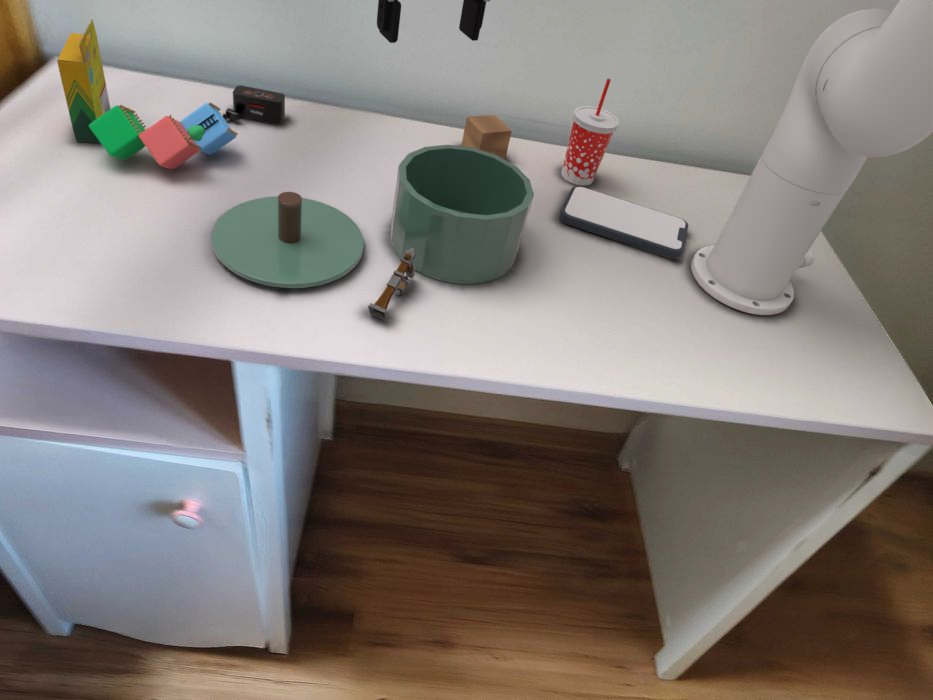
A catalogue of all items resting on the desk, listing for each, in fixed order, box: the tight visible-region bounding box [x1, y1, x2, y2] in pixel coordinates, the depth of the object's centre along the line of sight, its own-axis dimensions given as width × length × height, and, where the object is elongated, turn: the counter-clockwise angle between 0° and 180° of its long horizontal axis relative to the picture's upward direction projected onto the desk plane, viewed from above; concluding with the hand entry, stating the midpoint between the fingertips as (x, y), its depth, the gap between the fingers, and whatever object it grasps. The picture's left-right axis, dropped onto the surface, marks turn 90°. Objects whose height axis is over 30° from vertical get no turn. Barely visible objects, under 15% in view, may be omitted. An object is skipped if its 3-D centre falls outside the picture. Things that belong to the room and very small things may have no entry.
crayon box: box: [56, 19, 112, 144], centre depth 80 cm, size 7×3×12 cm, turn 10°
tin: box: [389, 144, 535, 285], centre depth 77 cm, size 15×15×8 cm
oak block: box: [460, 114, 513, 160], centre depth 95 cm, size 5×5×5 cm
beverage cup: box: [560, 78, 620, 187], centre depth 92 cm, size 6×6×14 cm
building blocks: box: [89, 101, 239, 170], centre depth 80 cm, size 8×8×12 cm
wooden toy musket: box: [367, 248, 416, 322], centre depth 70 cm, size 2×8×4 cm, turn 157°
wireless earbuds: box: [222, 85, 286, 125], centre depth 91 cm, size 5×7×3 cm, turn 87°
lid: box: [211, 191, 365, 289], centre depth 72 cm, size 16×16×6 cm
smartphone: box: [558, 185, 689, 260], centre depth 89 cm, size 9×2×16 cm
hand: (429, 36), depth 74 cm, fingers open, 9 cm apart
